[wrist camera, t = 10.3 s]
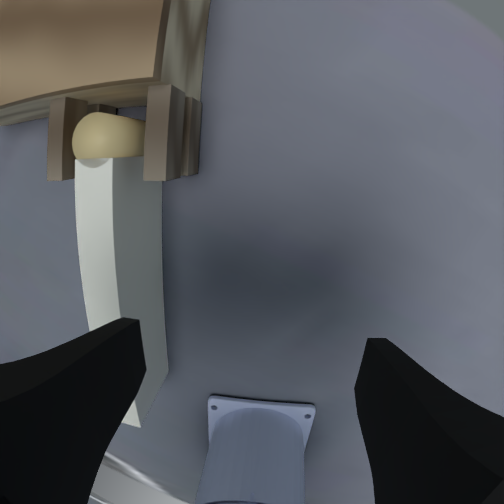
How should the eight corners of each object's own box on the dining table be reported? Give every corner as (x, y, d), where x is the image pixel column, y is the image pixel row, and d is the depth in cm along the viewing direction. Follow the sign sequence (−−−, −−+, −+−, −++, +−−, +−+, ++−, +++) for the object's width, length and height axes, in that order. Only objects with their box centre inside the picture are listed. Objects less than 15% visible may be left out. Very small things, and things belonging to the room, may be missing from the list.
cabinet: (199, 173, 18) (151, 184, 11) (5, 176, 19) (-62, 190, 12) (215, -15, 14) (185, -80, 7) (20, 30, 15) (-40, 13, 8)
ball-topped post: (171, 371, 22) (143, 428, 16) (141, 365, 22) (109, 418, 16) (168, 121, 17) (119, 109, 11) (131, 123, 17) (73, 114, 11)
